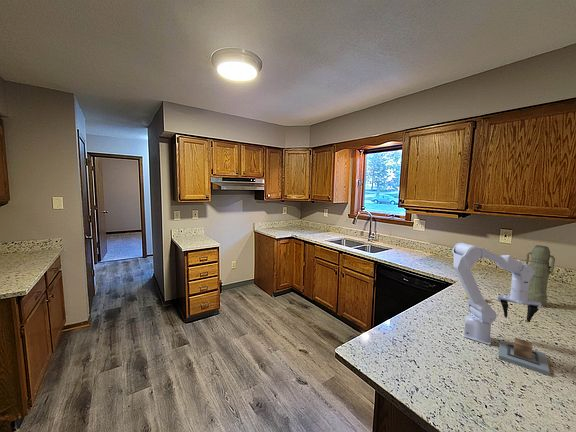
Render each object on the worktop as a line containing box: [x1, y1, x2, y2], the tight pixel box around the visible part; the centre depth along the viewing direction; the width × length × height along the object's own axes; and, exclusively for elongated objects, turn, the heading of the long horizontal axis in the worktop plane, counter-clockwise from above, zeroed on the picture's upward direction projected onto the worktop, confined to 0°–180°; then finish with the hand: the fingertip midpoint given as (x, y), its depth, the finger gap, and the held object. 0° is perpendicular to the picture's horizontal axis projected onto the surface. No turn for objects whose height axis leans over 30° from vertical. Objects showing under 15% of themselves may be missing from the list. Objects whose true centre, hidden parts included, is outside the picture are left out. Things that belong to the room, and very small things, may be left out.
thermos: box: [525, 244, 556, 307], centre depth 151 cm, size 9×12×35 cm
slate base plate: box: [498, 339, 550, 377], centre depth 101 cm, size 14×14×2 cm
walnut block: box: [513, 337, 533, 360], centre depth 101 cm, size 5×5×5 cm
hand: (516, 319), depth 114 cm, fingers open, 7 cm apart
